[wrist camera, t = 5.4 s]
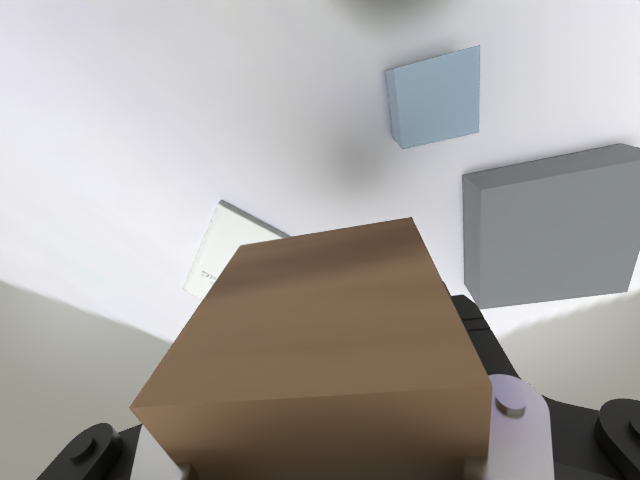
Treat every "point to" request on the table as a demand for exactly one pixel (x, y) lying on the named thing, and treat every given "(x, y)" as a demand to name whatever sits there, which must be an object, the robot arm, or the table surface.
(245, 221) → the external hard drive
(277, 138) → the table surface
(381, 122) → the table surface
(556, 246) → the base plinth
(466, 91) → the blue cube
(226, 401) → the walnut cube
